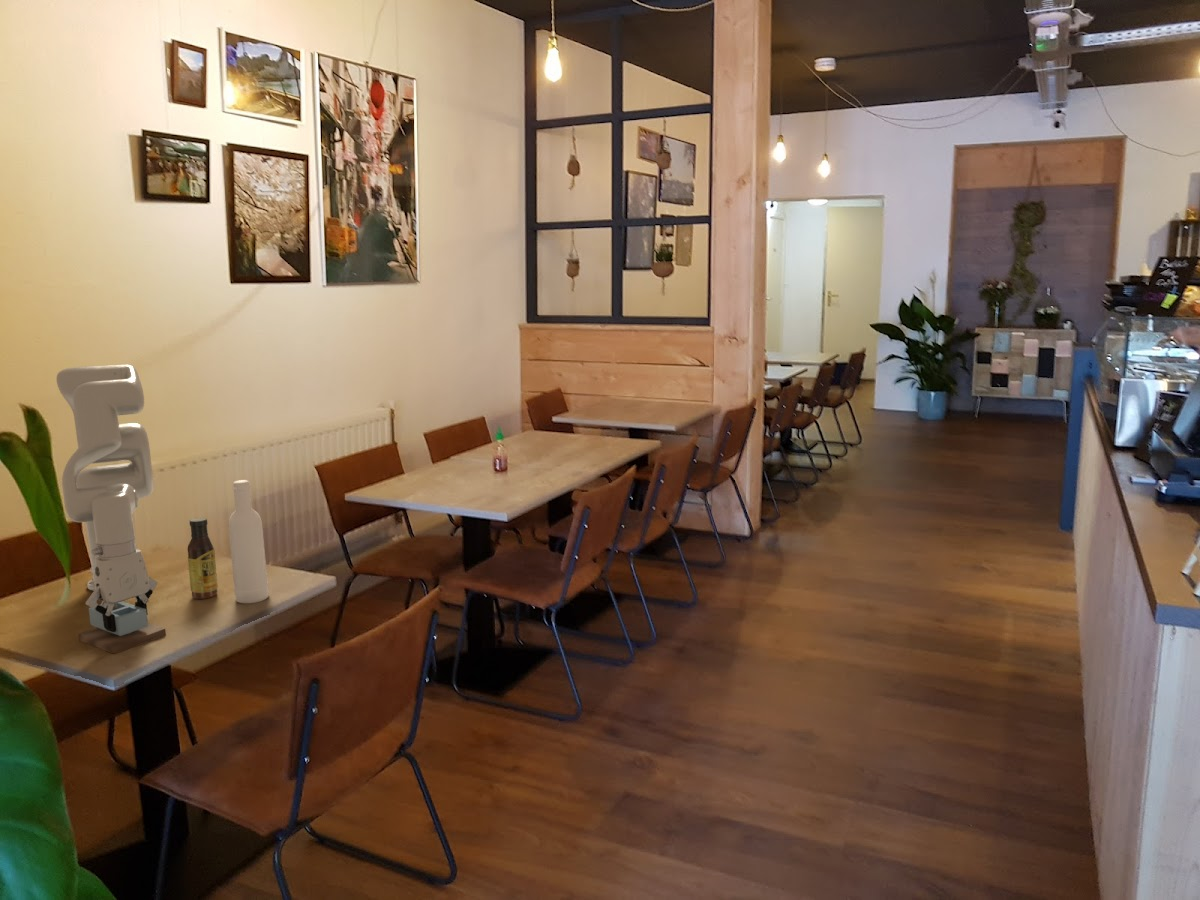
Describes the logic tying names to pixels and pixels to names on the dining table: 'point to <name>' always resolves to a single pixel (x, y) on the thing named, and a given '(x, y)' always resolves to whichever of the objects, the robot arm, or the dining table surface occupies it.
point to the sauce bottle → (201, 561)
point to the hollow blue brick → (122, 618)
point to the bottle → (247, 548)
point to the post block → (120, 637)
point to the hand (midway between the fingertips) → (126, 624)
